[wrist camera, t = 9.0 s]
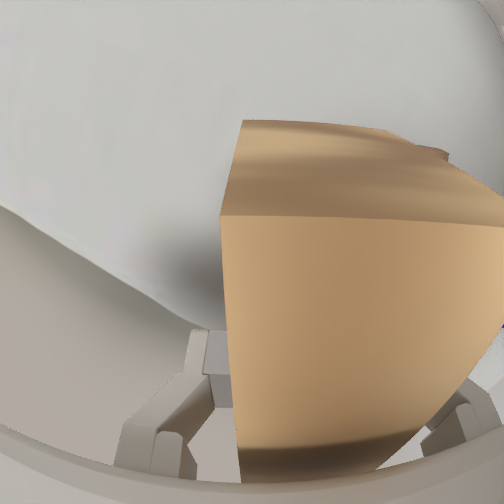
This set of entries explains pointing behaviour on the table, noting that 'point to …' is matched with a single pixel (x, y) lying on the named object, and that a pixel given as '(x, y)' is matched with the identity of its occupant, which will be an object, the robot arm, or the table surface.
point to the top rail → (350, 293)
